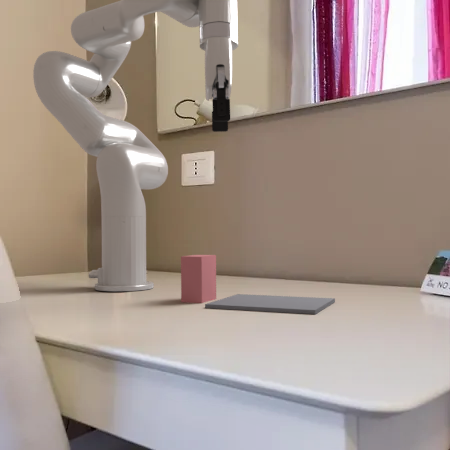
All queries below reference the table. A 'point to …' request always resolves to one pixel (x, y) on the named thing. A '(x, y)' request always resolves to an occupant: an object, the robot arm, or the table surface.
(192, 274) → the pink rectangular block
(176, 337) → the table surface
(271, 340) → the table surface
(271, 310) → the mat
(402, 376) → the table surface
